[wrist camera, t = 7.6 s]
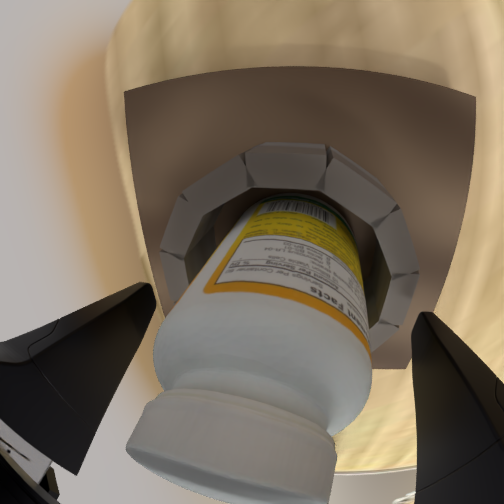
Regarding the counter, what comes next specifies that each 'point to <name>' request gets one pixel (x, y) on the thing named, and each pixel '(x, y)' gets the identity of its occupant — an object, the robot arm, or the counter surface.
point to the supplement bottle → (262, 360)
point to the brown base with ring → (308, 175)
